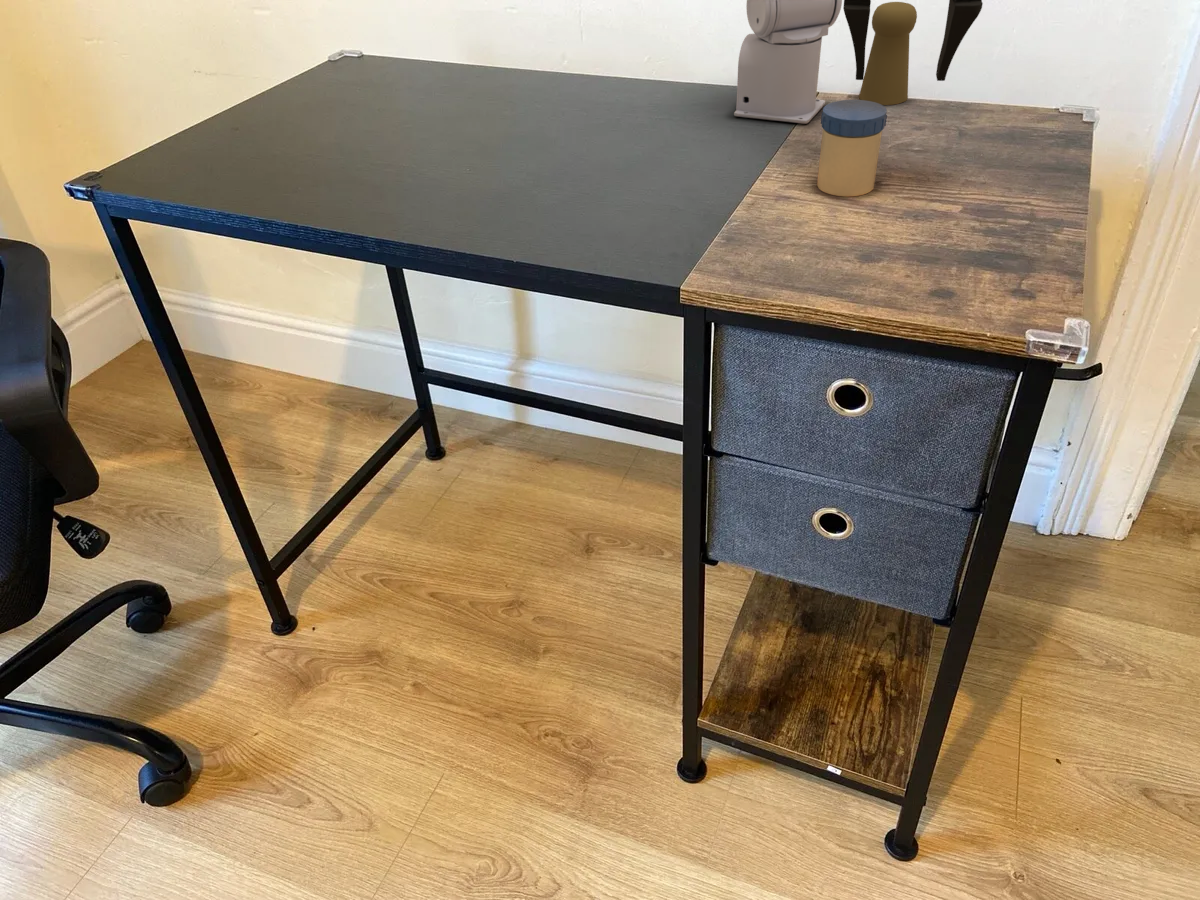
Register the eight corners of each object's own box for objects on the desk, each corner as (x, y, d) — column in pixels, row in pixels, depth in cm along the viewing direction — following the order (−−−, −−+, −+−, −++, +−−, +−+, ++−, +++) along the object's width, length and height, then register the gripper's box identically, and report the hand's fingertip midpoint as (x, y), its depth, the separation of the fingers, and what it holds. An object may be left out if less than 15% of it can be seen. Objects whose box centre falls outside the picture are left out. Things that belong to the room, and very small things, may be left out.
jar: (810, 192, 91) (817, 120, 86) (825, 171, 95) (833, 101, 90) (866, 199, 89) (876, 126, 84) (880, 178, 93) (890, 107, 88)
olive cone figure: (909, 105, 110) (924, 9, 103) (859, 104, 111) (871, 10, 104) (906, 89, 114) (920, -3, 107) (858, 89, 115) (869, -3, 108)
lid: (813, 132, 87) (815, 116, 86) (830, 112, 91) (832, 97, 90) (876, 139, 85) (878, 123, 84) (891, 119, 89) (893, 102, 88)
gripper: (839, -71, 77) (823, 88, 86) (1016, -76, 74) (981, 91, 82) (840, -85, 82) (825, 67, 91) (1006, -89, 79) (974, 68, 88)
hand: (899, 77), depth 87 cm, fingers open, 7 cm apart
